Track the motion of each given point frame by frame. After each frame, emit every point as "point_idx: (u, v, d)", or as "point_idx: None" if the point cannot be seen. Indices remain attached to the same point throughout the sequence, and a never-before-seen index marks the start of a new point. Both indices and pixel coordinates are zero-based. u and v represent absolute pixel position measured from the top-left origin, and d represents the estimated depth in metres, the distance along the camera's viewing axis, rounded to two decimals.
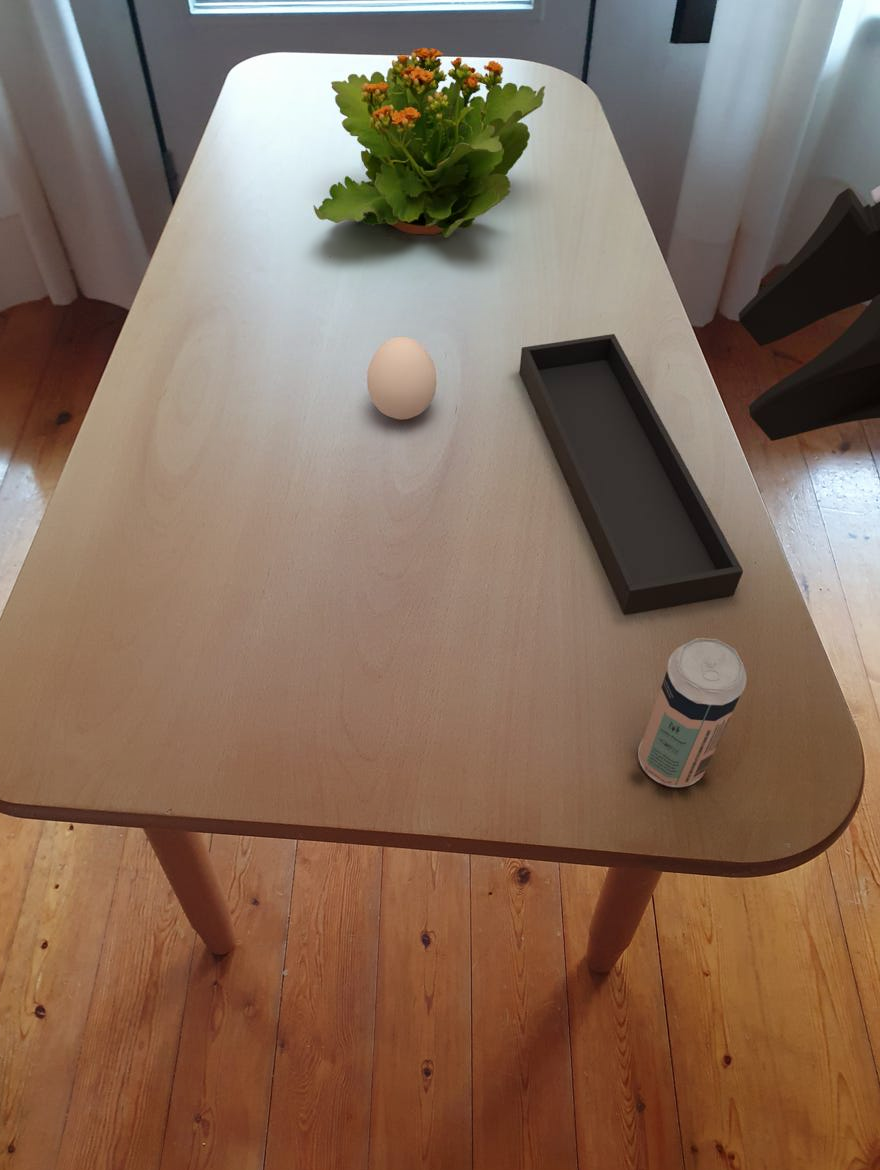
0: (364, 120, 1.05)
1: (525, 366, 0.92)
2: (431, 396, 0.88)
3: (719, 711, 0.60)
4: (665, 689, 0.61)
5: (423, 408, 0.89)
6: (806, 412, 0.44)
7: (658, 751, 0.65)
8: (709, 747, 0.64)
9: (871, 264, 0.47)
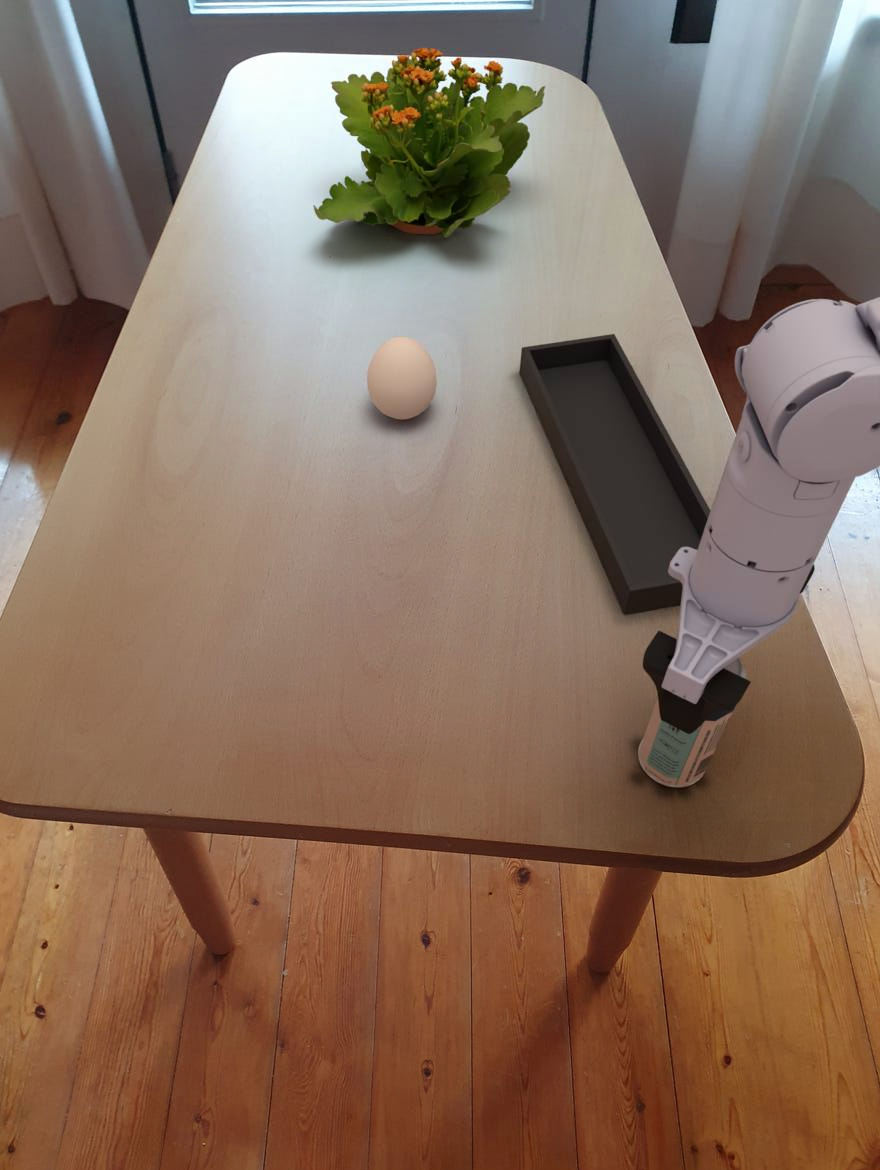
0: (364, 120, 1.05)
1: (525, 366, 0.92)
2: (431, 396, 0.88)
3: None
4: None
5: (423, 408, 0.89)
6: (685, 712, 0.57)
7: (658, 751, 0.65)
8: (709, 747, 0.64)
9: None
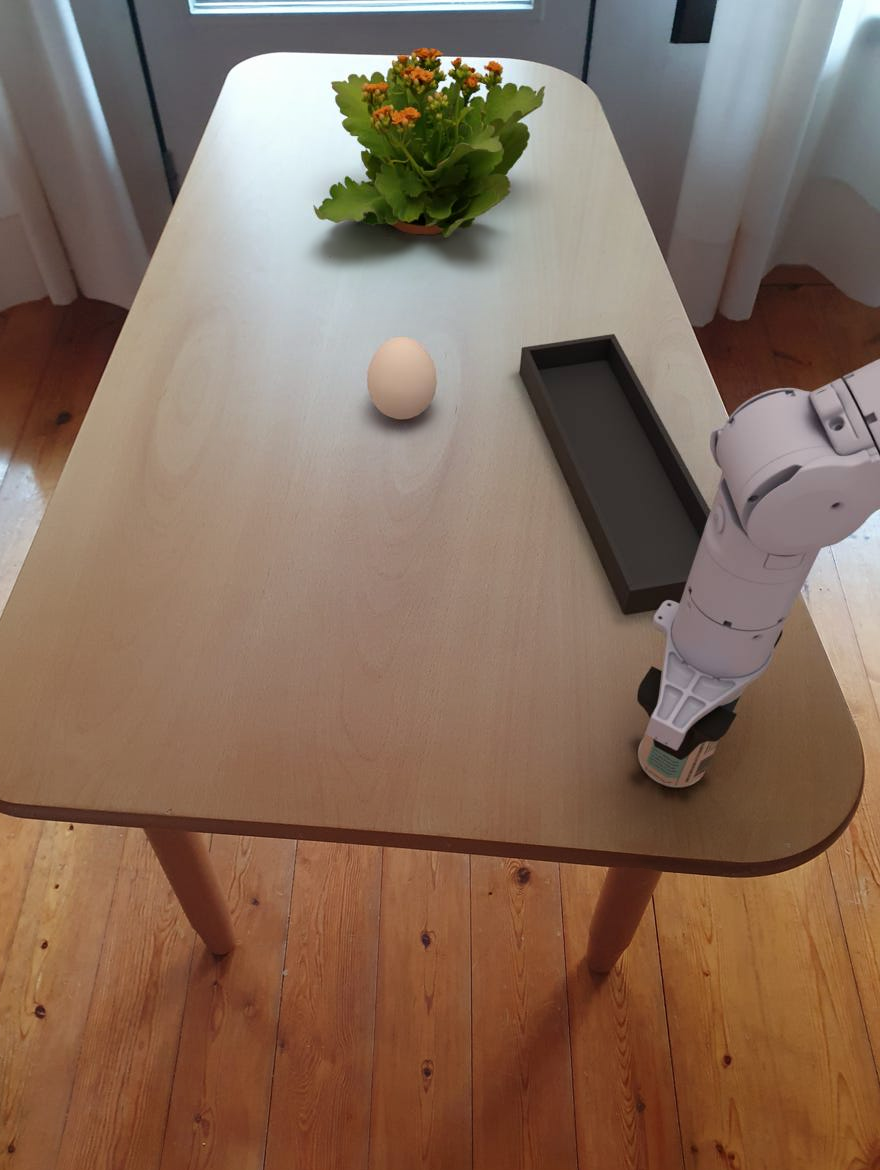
0: (364, 120, 1.05)
1: (525, 366, 0.92)
2: (431, 396, 0.88)
3: None
4: None
5: (423, 408, 0.89)
6: None
7: (658, 751, 0.65)
8: (709, 747, 0.64)
9: None
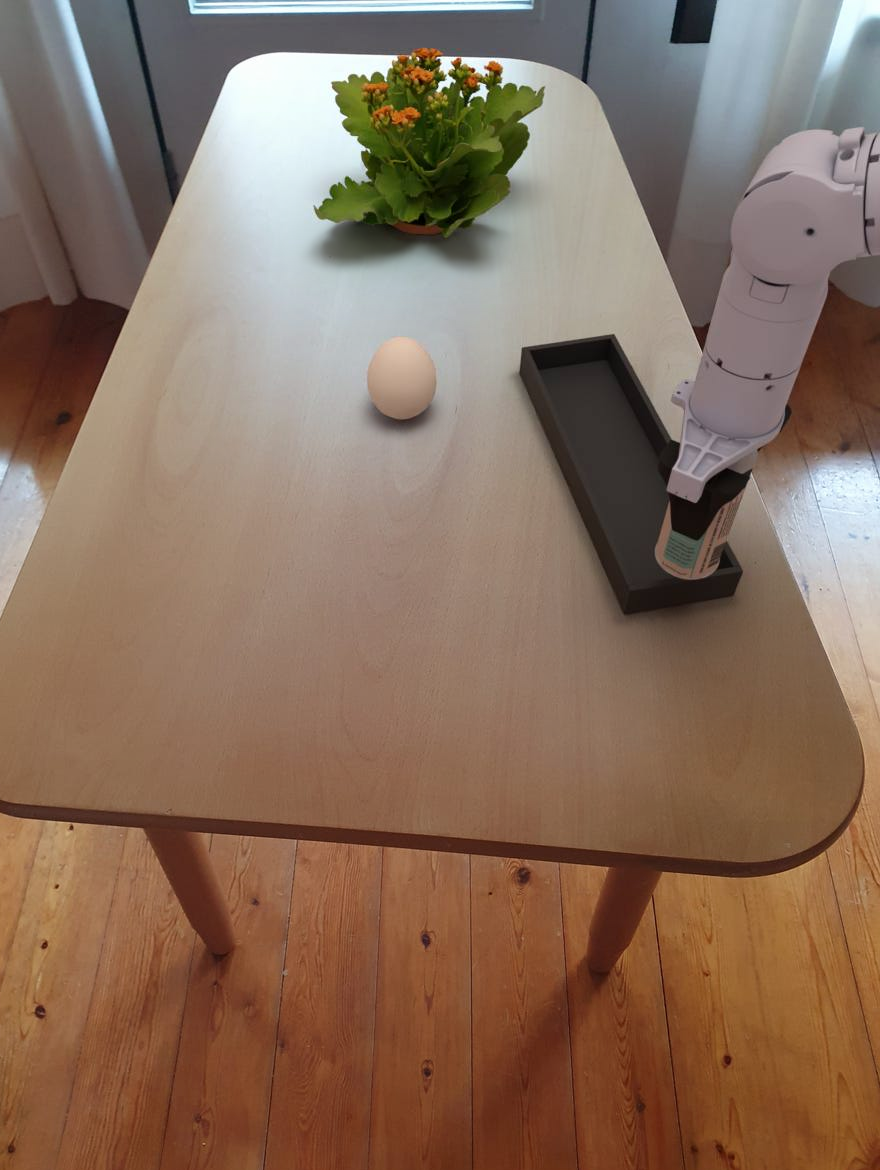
0: (364, 120, 1.05)
1: (525, 366, 0.92)
2: (431, 396, 0.88)
3: None
4: None
5: (423, 408, 0.89)
6: (694, 518, 0.66)
7: (674, 540, 0.70)
8: (722, 531, 0.68)
9: None
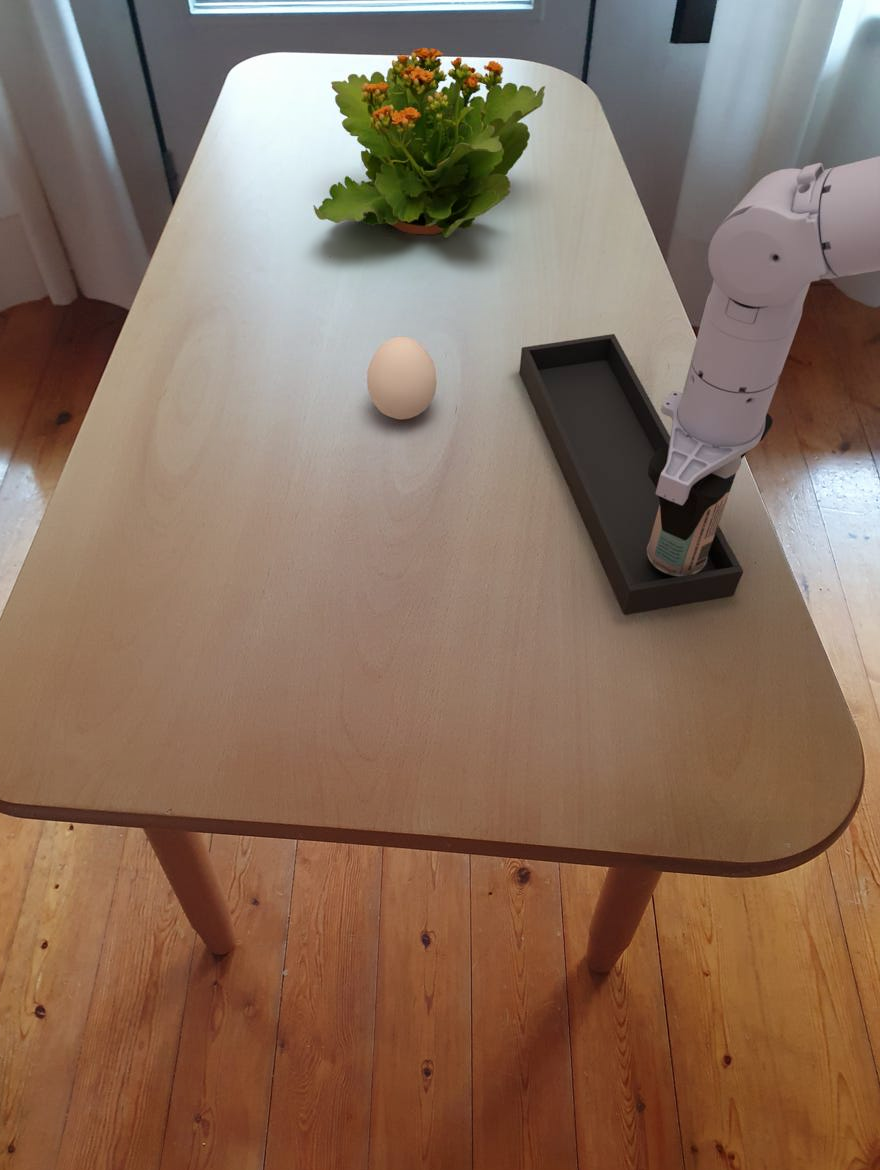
0: (364, 120, 1.05)
1: (525, 366, 0.92)
2: (431, 396, 0.88)
3: None
4: None
5: (423, 408, 0.89)
6: (682, 519, 0.71)
7: (665, 539, 0.75)
8: (709, 531, 0.74)
9: None
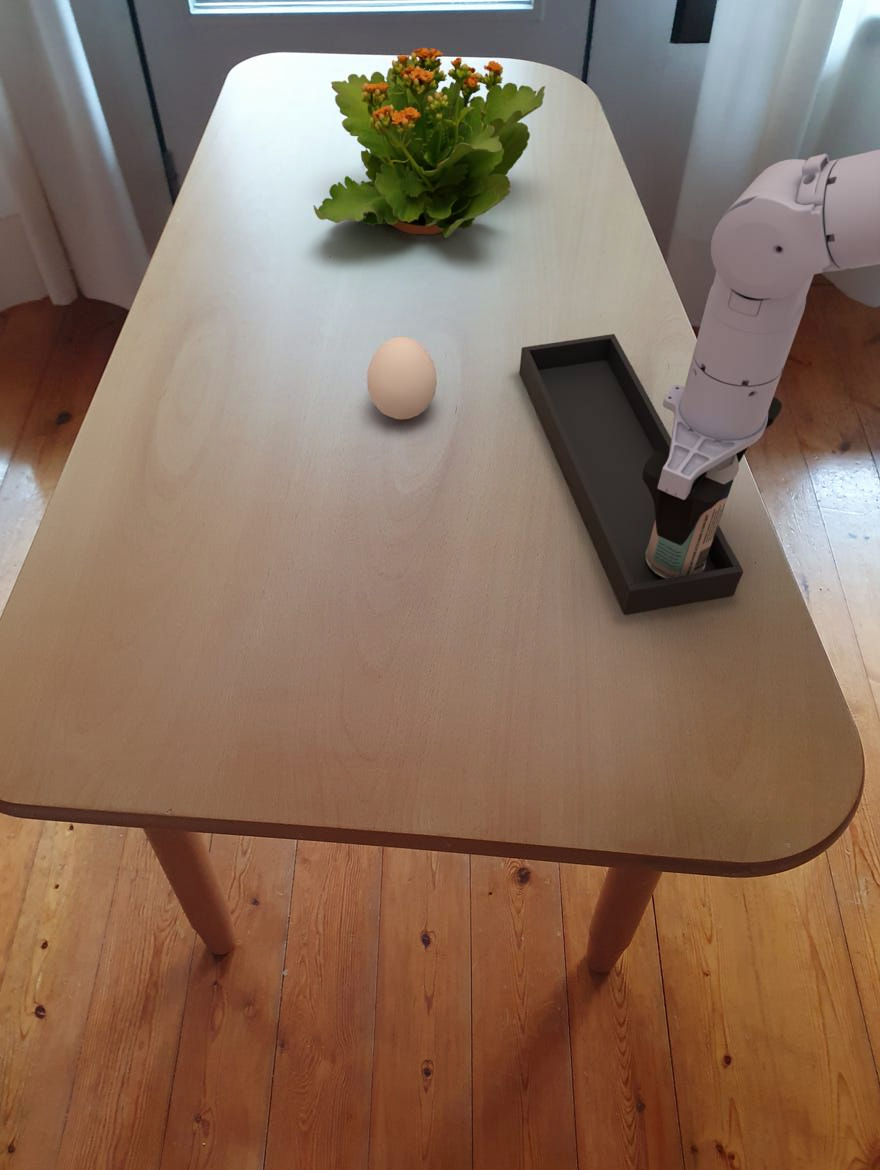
0: (364, 120, 1.05)
1: (525, 366, 0.92)
2: (431, 396, 0.88)
3: None
4: None
5: (423, 408, 0.89)
6: (677, 524, 0.70)
7: (663, 544, 0.76)
8: (707, 536, 0.74)
9: None
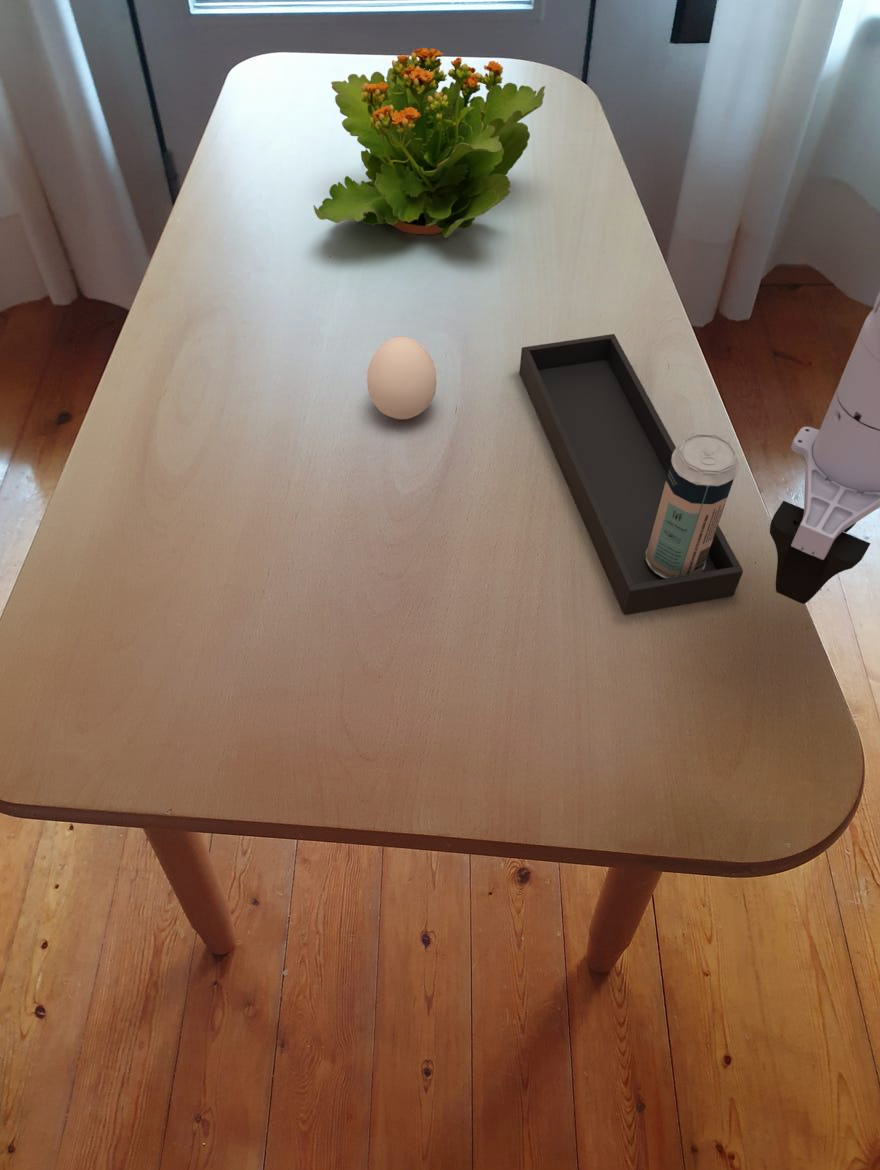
0: (364, 120, 1.05)
1: (525, 366, 0.92)
2: (431, 396, 0.88)
3: (715, 493, 0.70)
4: (670, 479, 0.72)
5: (423, 408, 0.89)
6: (802, 581, 0.63)
7: (663, 544, 0.76)
8: (707, 536, 0.74)
9: None
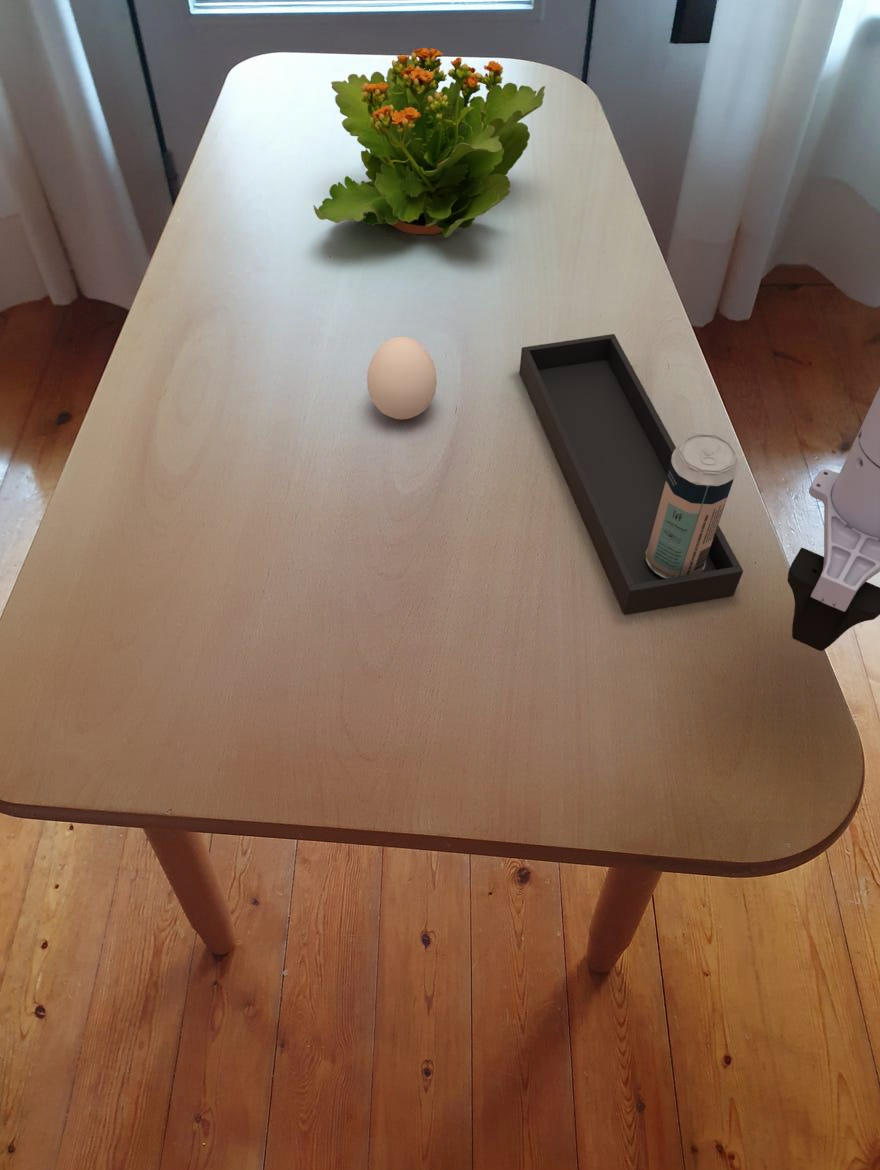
0: (364, 120, 1.05)
1: (525, 366, 0.92)
2: (431, 396, 0.88)
3: (715, 493, 0.70)
4: (670, 479, 0.72)
5: (423, 408, 0.89)
6: (820, 629, 0.60)
7: (663, 544, 0.76)
8: (707, 536, 0.74)
9: None
